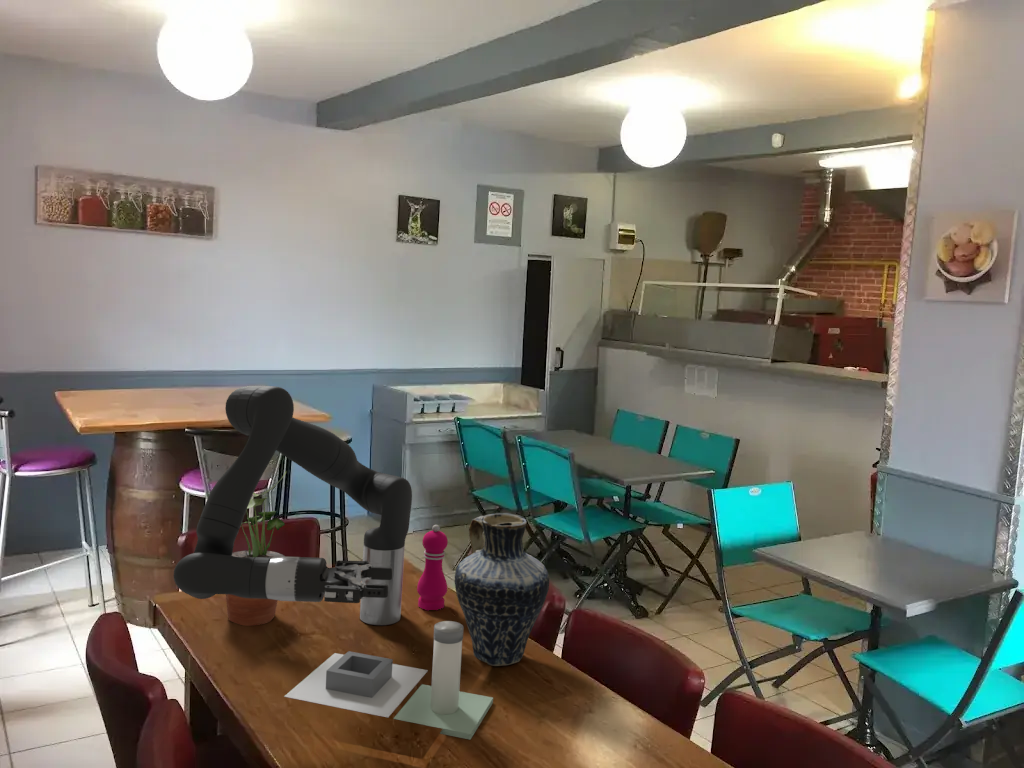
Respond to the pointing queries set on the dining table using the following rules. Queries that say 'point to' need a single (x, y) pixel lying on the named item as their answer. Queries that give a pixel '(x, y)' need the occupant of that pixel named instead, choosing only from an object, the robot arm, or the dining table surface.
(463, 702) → the mat
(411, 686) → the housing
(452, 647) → the cartridge
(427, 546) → the pepper mill
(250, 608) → the potted plant
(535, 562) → the jug
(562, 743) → the dining table surface
